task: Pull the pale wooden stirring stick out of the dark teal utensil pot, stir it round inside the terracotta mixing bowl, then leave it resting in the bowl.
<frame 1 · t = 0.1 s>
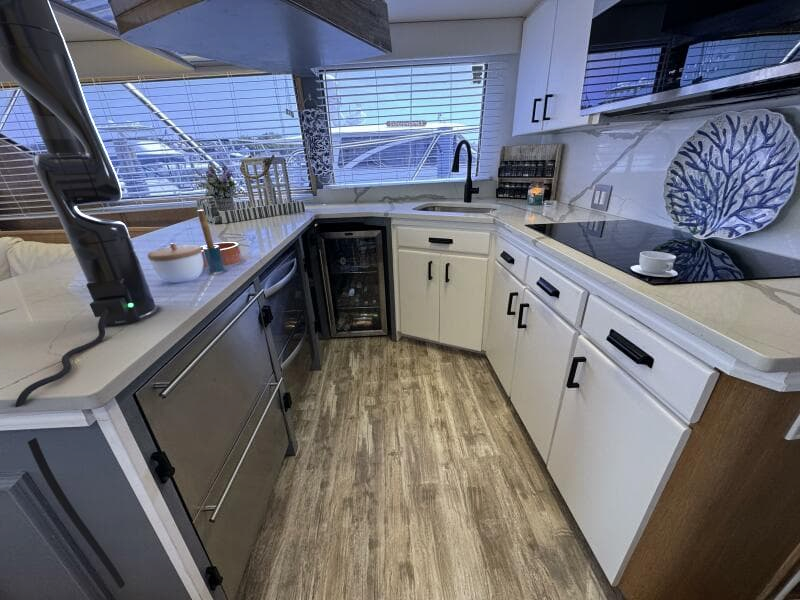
hand: (89, 202, 88), 22 cm above the worktop, tool pointing down, fingers open, 8 cm apart
utensil pot: (217, 272, 100), on the worktop
stirring stick: (217, 269, 99), point 1 cm above the worktop, touching utensil pot
teacup: (652, 273, 84), on the worktop
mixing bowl: (222, 263, 108), on the worktop
lidded bowl: (184, 281, 93), on the worktop
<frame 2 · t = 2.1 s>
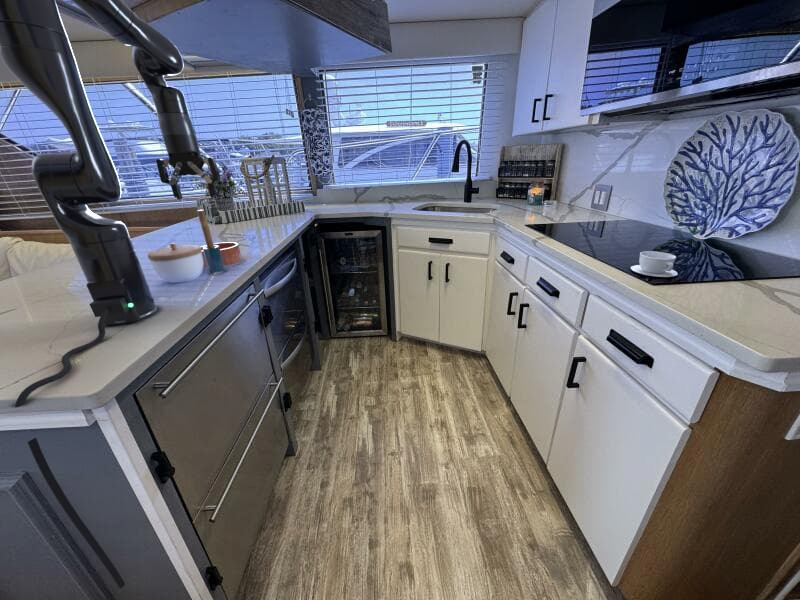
hand: (196, 198, 91), 22 cm above the worktop, tool pointing down, fingers open, 8 cm apart
nothing on the worktop moved.
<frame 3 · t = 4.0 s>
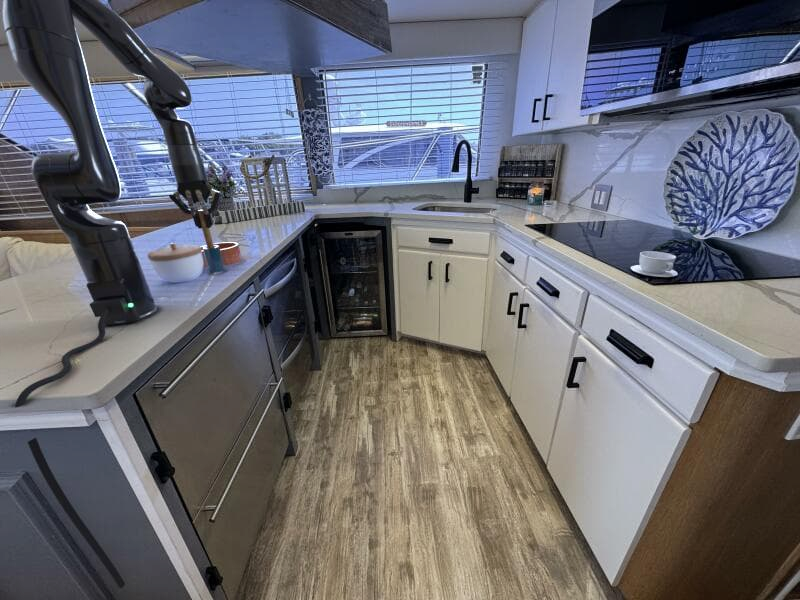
hand: (205, 227, 94), 14 cm above the worktop, tool pointing down, fingers closed on stirring stick, 2 cm apart
stirring stick: (217, 269, 99), point 1 cm above the worktop, touching gripper, utensil pot
everything else where it was.
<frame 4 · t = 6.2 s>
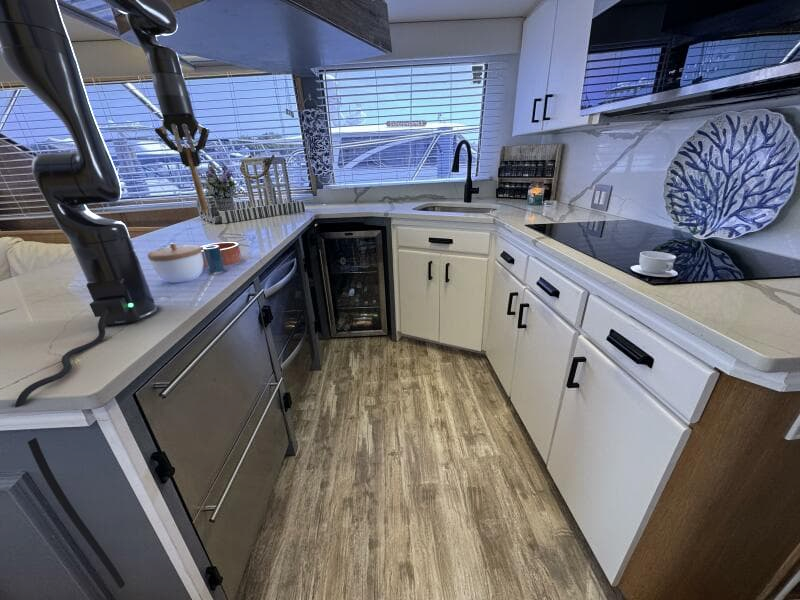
hand: (192, 166, 92), 30 cm above the worktop, tool pointing down, fingers closed on stirring stick
stirring stick: (205, 212, 97), point 17 cm above the worktop, touching gripper
everything else where it was.
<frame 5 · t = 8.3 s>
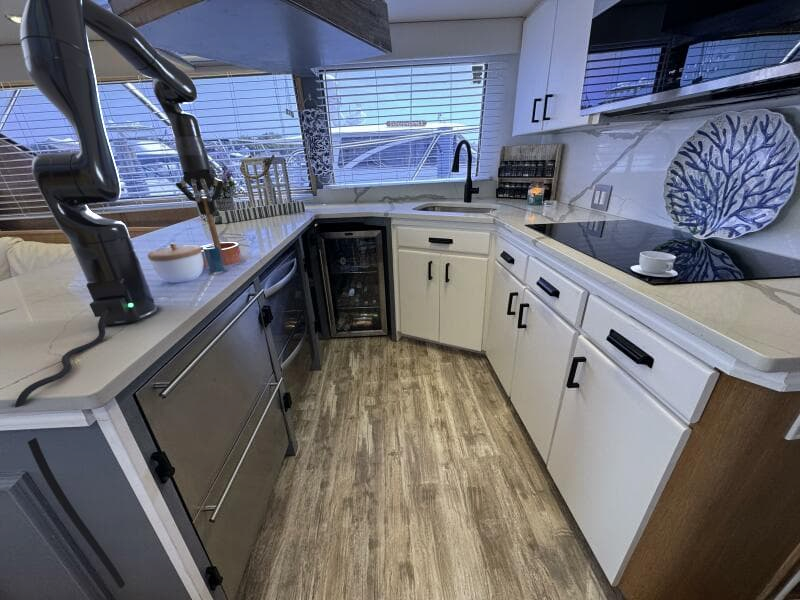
hand: (208, 213, 102), 17 cm above the worktop, tool pointing down, fingers closed on stirring stick
stirring stick: (219, 253, 107), point 4 cm above the worktop, touching gripper
everything else where it was.
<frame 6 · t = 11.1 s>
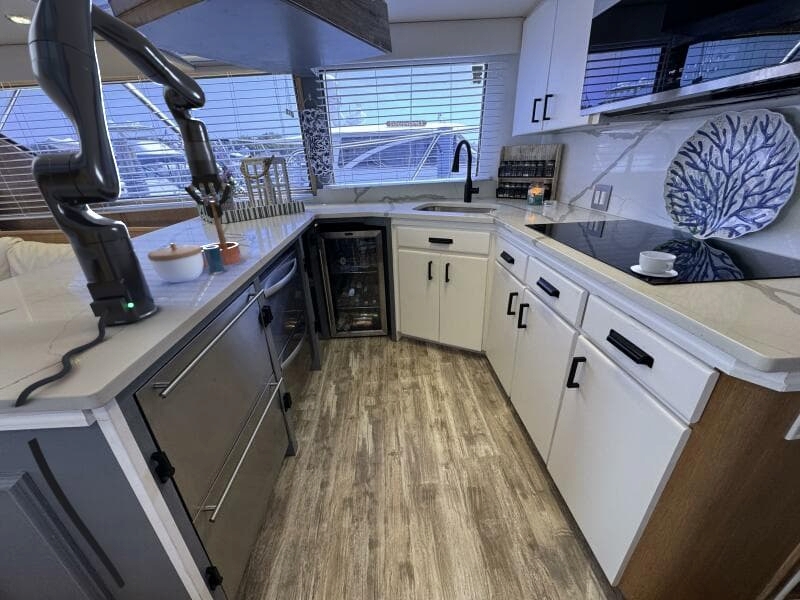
hand: (216, 217, 104), 15 cm above the worktop, tool pointing down, fingers closed on stirring stick, 2 cm apart
stirring stick: (226, 256, 109), point 2 cm above the worktop, touching gripper
everything else where it was.
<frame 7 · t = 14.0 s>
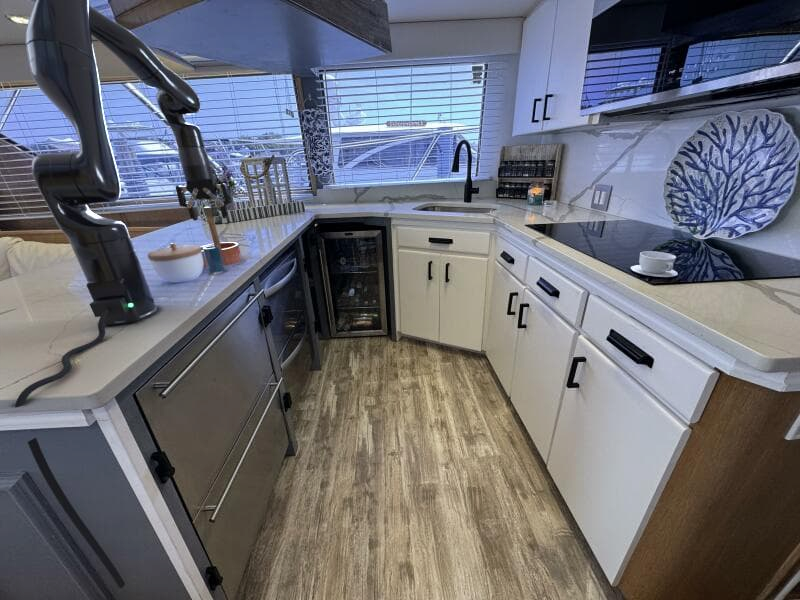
hand: (210, 219, 102), 15 cm above the worktop, tool pointing down, fingers open, 8 cm apart
stirring stick: (222, 262, 108), point 1 cm above the worktop, touching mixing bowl
everything else where it was.
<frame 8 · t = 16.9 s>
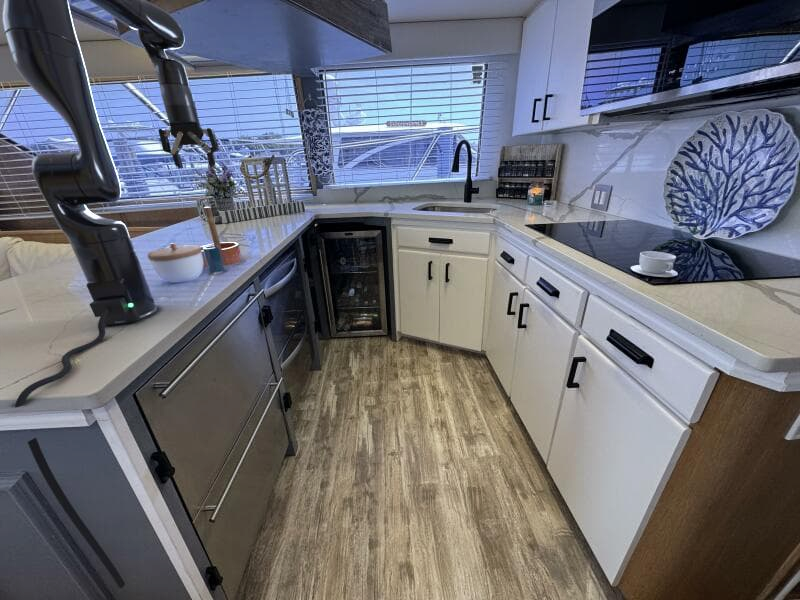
hand: (196, 167, 96), 30 cm above the worktop, tool pointing down, fingers open, 8 cm apart
nothing on the worktop moved.
at the end: stirring stick inside the target area in the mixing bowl (0.1 cm from its centre), point 0.6 cm above the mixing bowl's base; the gripper is holding nothing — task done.
